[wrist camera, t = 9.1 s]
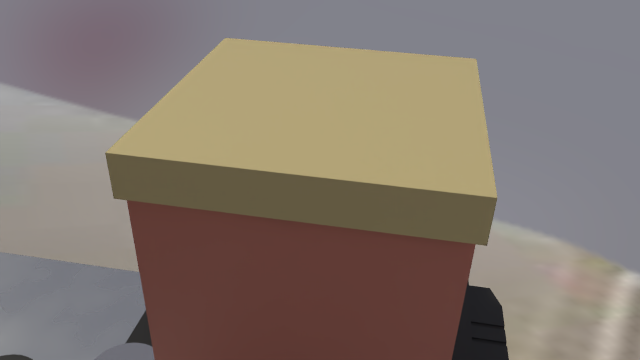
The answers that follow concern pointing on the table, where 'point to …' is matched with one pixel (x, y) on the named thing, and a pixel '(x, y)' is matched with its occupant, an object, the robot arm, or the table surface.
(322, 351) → the sliding leg
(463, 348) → the robot arm
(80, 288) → the flange plate
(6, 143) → the table surface
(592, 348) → the table surface
